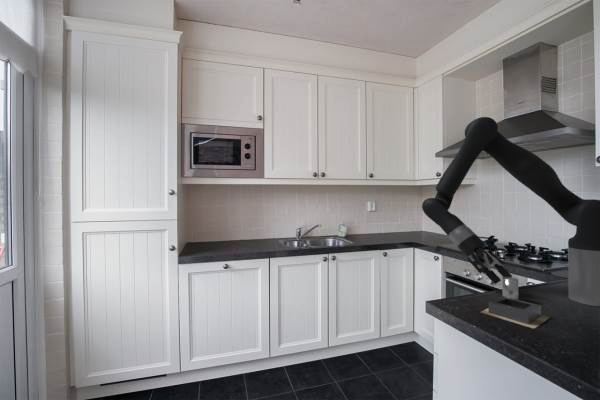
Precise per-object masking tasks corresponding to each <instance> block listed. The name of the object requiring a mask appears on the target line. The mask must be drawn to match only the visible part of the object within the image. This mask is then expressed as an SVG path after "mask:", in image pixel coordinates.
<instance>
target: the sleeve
mask: <svg viewBox="0 0 600 400" xmlns="http://www.w3.org/2000/svg"><path fill="white" fill-rule="evenodd" d="M487 305H488V308H489V313H491V314H495V315H498V316H501V317H505V318H508V319H511V320H514V321H518V322H521V323H524V324H528V325H529V324H531V323H532V322H534V321H535V320H537V319H538V318H540V317H541V315H542V305H540V304H537V303H531V302H528V301H523V300H520V299H518V300H516V299H512V298H508V297H504V296H502V295H501V296H498V297H497V298H494V299H492V300H490V301H488V304H487Z"/></svg>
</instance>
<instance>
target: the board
mask: <svg viewBox="0 0 600 400" xmlns="http://www.w3.org/2000/svg"><path fill="white" fill-rule="evenodd" d="M480 313H481V314H485V315H488V316H490V317H494V318H498V319H500V320H504V321H507V322H511V323H514V324H518V325H521V326H523V327H527V328H530V329H536V328H538V327H539V326H540V325H542V324H543V323H544V322H546V321H547V320H549V319H550V316H547V315H543V314H541V317H540V318H538V319H537V320H535V321H534V322H532V323H531V324H529V325H528V324H524V323H521V322H518V321H514V320H511V319H508V318H505V317H501V316H498V315H495V314H491V313H489V307H488V308H485V309H484V310H482V311H480Z"/></svg>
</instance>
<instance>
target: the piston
mask: <svg viewBox="0 0 600 400" xmlns="http://www.w3.org/2000/svg"><path fill="white" fill-rule="evenodd" d="M501 277H502V278H501V281H502V286H501V287H502V288H501V289H502V290H501V291H502V295H501V296H504V297H508V298H512V299H516V300H519V279H518V278H516V277H513V276H512V277H503V276H501Z"/></svg>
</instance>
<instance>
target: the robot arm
mask: <svg viewBox="0 0 600 400" xmlns="http://www.w3.org/2000/svg"><path fill="white" fill-rule="evenodd" d="M498 129H499V127H498V123H497V122H496V121H495V119H494V118H491V117H489V116H480V117H478V118H475V119H473V120H472V121H470V122H469V123H468V124H467V125H466V127H465V129H464V137H465V138H464V139H463V142H462V145H461V147H459V150H458V152H457V154H456V155H455V156H454V158H453V159H452V161H451V162H450V163H449V165H448V166H447V168H446V169H445V171H444V172H443V174H442V176H441V177H440V179H439V181H438V182H437V184H436V185H435V186H436V187H435V190H436V191H437V192H436V195H435V197H428V198H426V199H424V200H423V202H422V203H421V209H422V212H424V214H425V216H427V217H428V218H429V219H430V221H432V222H434V223H435V224H436V225H437V226H439V228H441V230H442V231H443V232H444V233H445V234H446V235H447V236H448V237H449V239H450V241H452V243H453V244H454V245H455V246H456V247H457V248H458V249H459V251H461V253H462V255H464V256H465V257H467V258H466V259H467V260H468V262H469V263H470V264H471V266H473V268H474V269H475V270H476V271H477V272H478V273H479V274H482V273H483V274H484V275H485V276H487V278H488V279H489V280H490V281H491V282H492V283H493V284H498V283H499V282H501V281H502V278H501V277H513V275H512V274H511V272H509V271H508V270H507V269H506V268H505V267H504V265H505V263H504V261H503V260H502V259H501V258H500V257H499V256H497V255H496V254H495V253H494V251H492V250H491V249H490V250H488V251H487V250H486V249H485V247H486V243H485V242H484V241H483V240H482V239H481V238H480V237H479V236H478V235H477V234H476V233H475V232H474V231H473V230H472V228H470V227H469V226H468V225H466V224H465V222H463V221H462V220H461V219H460V217H458V216H457V215H455V214H454V213H451V212H450V211H449V209H450V208H451V206H452V203H453V199H454V195H455V193H456V192H457V191H458V190H459V188H460V186H461V185H462V183H463V181H464V179H465V178H466V176H467V174H468V173H469V171H470V169H471V167H473V164H474V163H475V161H476V160H477V158H478V157H479V155H480V154H481V153H482V152H485V153H486V154H487V155H489V156H490V157H492V158H493V159H494V160H495V161H496V162H497V164H499V165H500V166H501V167H502V168H503V169H504V170H505V171H507V172H508V173H509V174H510V175H511V176H512V177H513V178H515V179H516V180H517V181H518V182H519V183H521V185H524V186H525V187H526V188H527V189H529V190H530V191H531V192H533V193H534V194H535V195H536V196H538V197H539V198H541V199H542V200H543V201H545V202H546V203H547V204H548V205H549V206H550V207H551V208H552V209H553V210H555V212H557V214H558V215H559V216H560V217H561V218H562V219H564V221H566V222H567V223H568V224H570V225H572V226H575V229H576V231H575V235H573V236H571V237H570V238H569V239H568V241H567V251H568V252H567V254H568V255H567V256H568V259H567V261H568V262H567V263H568V267H567V268H568V270H567V271H568V281H567V282H568V286H567V287H568V299H569V300H571V301H573V302H576V303H579V304H584V305H588V306H591V307H592V306H593V307H594V306H595V307H600V199H592V198H591V199H588V198H587V199H585V198H582V197H580V196H578V195H577V194H575V193H574V192H573V191H571V190H569V189H568V188H567V187H566V186H565V185H564V184H563V183H562V181H561V180H560V177H559V176H558V174H557V172H556V171H555V169H554V168H553V167H552V166H551V165H550V164H549V163H547V162H546V161H545V160H543V159H542V158H541V157H539V156H538V155H537V154H535V153H533V152H531V151H530V150H528V149H526V148H524V147H522V146H520V145H519V144H515V143H514V142H512V141H510V139H508V138H506V137H505V136H504V135H503V134H502V133H501V132H499V130H498ZM492 268H493V269H494V270H496V271H497V273H498V274H500V275H501V277H499V276H498V275H497V274H496V272H495V271H494V270H492Z"/></svg>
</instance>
